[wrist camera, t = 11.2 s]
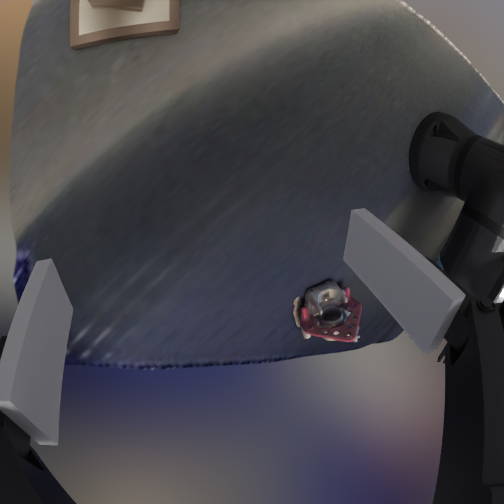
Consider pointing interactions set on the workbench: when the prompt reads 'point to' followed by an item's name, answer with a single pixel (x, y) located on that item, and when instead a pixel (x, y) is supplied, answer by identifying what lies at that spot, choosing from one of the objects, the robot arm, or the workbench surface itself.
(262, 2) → the workbench surface
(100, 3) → the oak block
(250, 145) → the workbench surface
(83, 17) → the plinth
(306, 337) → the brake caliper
